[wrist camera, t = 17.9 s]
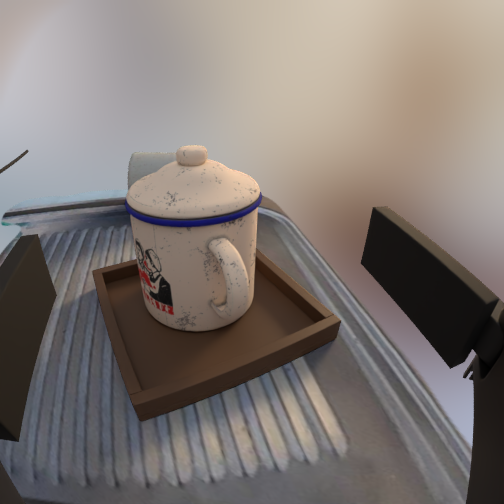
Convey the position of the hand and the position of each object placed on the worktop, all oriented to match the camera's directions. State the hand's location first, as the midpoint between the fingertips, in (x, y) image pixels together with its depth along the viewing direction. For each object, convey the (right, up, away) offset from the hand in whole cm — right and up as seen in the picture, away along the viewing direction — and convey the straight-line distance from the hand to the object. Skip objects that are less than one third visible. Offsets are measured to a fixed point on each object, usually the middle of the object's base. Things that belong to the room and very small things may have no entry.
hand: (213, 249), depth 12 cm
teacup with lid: (-2, -4, +13) cm, 14 cm away
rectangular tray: (-3, -5, +13) cm, 14 cm away
